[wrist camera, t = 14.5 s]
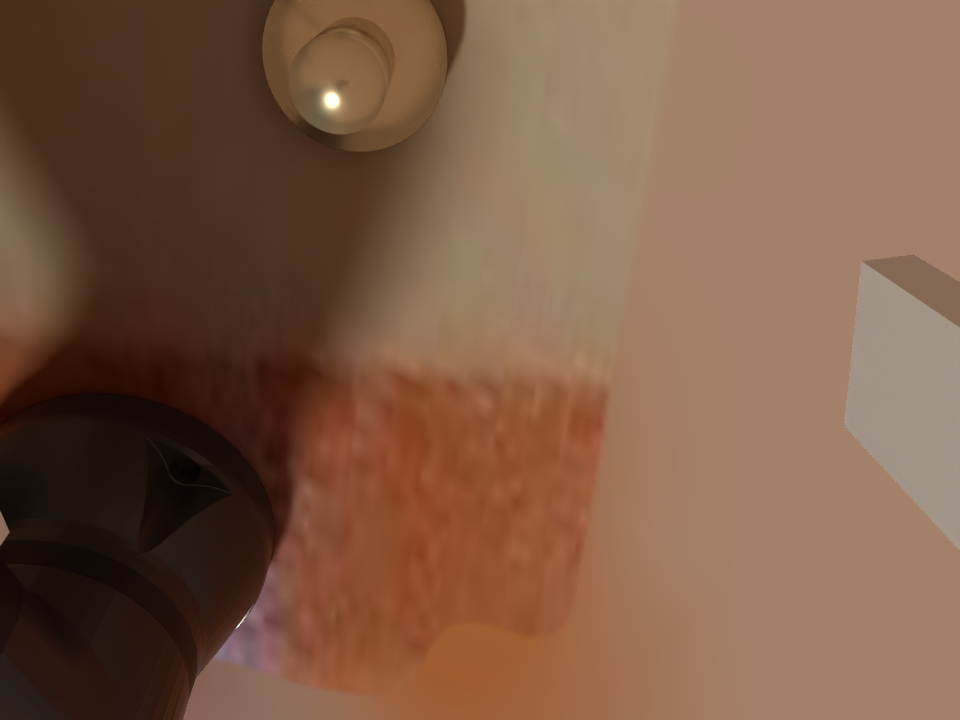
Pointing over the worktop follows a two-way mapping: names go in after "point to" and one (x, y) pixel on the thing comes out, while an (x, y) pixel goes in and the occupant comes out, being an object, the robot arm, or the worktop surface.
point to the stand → (355, 68)
